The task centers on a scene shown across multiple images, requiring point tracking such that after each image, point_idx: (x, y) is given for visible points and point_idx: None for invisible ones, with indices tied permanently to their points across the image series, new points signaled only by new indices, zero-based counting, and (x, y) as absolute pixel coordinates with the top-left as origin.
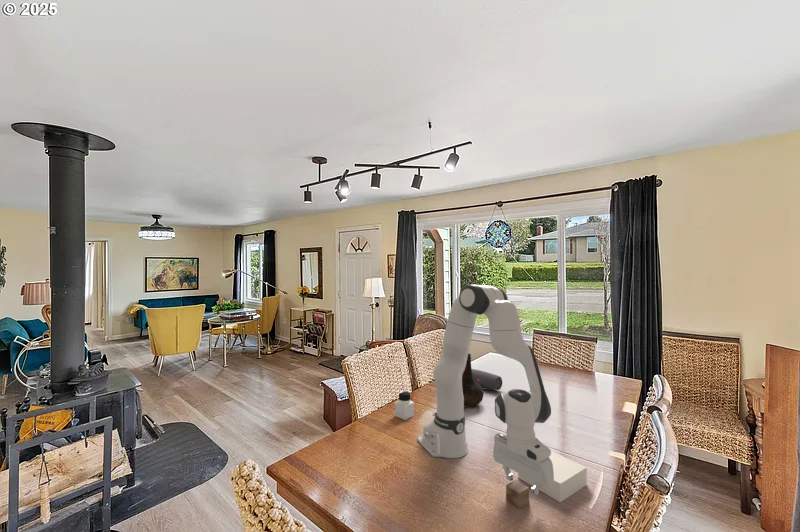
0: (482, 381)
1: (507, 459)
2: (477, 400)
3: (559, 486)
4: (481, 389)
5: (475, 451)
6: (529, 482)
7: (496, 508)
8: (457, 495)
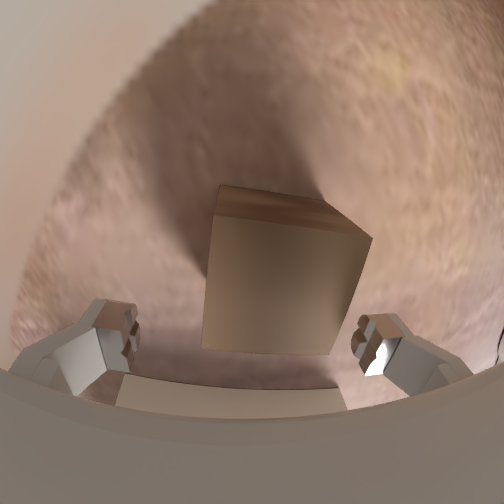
0: None
1: (494, 459)
2: None
3: None
4: None
5: (480, 364)
6: (283, 396)
7: (331, 86)
8: (487, 81)
